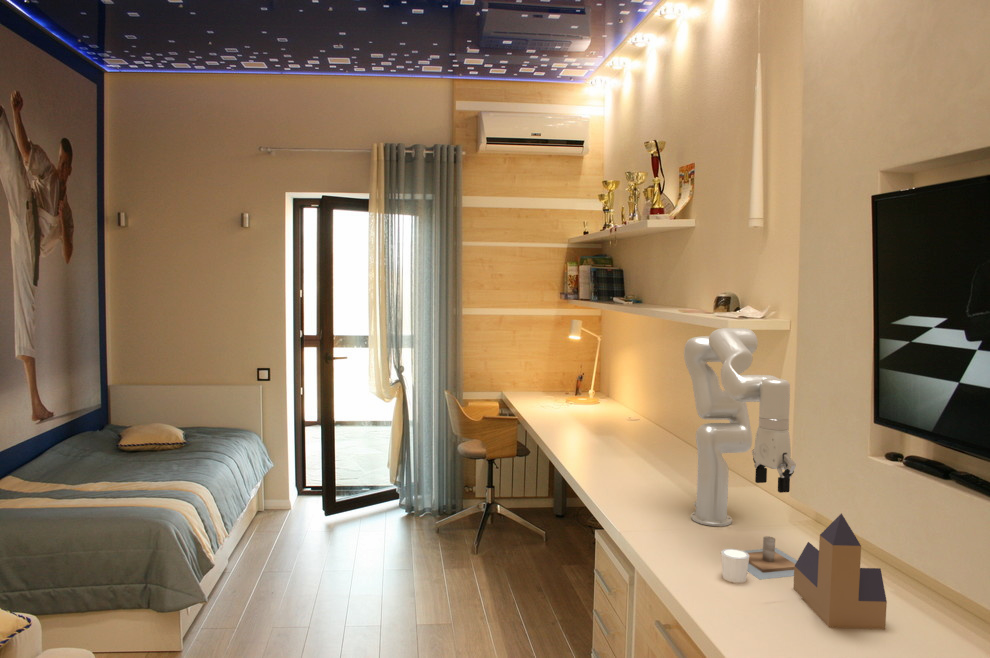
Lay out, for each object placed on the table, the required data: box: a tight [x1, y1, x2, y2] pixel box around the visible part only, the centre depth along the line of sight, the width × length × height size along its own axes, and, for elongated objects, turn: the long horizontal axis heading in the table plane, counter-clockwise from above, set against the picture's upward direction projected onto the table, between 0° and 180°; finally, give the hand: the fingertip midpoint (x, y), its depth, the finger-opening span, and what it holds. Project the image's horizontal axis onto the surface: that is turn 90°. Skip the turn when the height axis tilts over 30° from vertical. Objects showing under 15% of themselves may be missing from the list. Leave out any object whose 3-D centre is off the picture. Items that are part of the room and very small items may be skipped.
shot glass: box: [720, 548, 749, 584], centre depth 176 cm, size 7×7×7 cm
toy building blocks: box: [792, 513, 888, 630], centre depth 161 cm, size 12×19×25 cm
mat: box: [744, 547, 798, 580], centre depth 187 cm, size 18×18×1 cm
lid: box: [748, 535, 795, 573], centre depth 186 cm, size 11×11×7 cm
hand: (771, 487), depth 185 cm, fingers open, 9 cm apart
